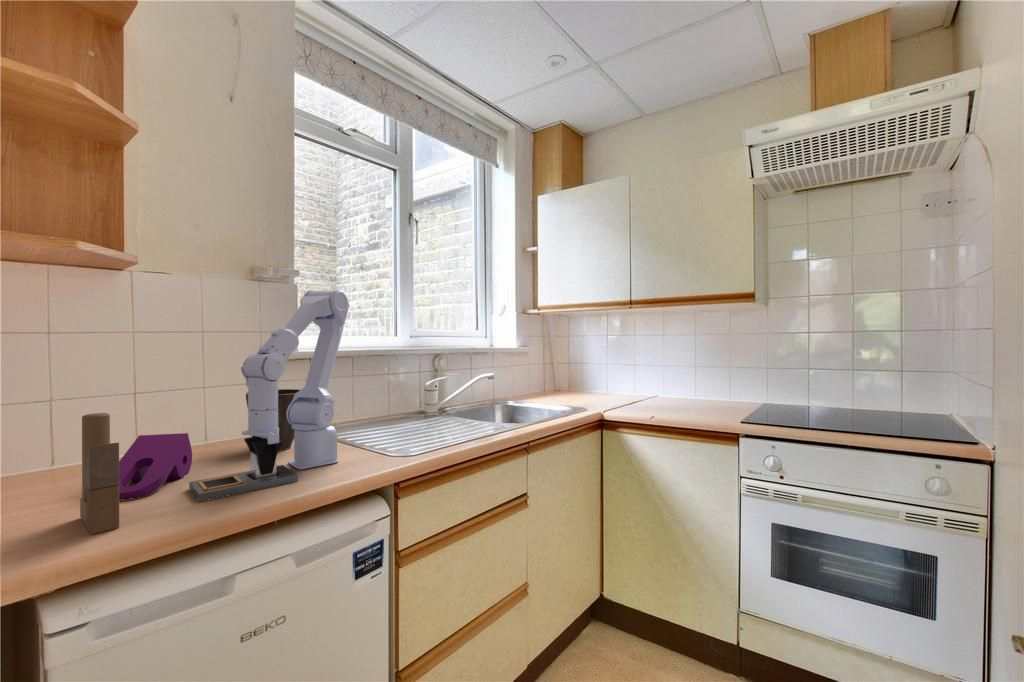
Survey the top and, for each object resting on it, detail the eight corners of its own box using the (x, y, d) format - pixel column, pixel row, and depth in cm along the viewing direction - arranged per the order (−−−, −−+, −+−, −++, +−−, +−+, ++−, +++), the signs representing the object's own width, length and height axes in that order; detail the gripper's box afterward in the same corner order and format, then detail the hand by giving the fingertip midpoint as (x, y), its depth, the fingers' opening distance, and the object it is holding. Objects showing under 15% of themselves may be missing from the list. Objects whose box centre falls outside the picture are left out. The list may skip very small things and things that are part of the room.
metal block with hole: (270, 477, 101) (270, 448, 101) (276, 481, 98) (276, 451, 98) (250, 481, 98) (250, 451, 98) (255, 485, 95) (255, 454, 95)
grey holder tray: (282, 471, 106) (282, 464, 106) (298, 481, 98) (298, 473, 98) (189, 489, 93) (189, 481, 93) (199, 502, 86) (199, 493, 86)
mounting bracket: (161, 522, 91) (194, 461, 107) (151, 490, 88) (188, 433, 103) (105, 527, 89) (147, 464, 104) (93, 494, 85) (139, 435, 101)
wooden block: (89, 535, 71) (89, 422, 71) (79, 518, 78) (79, 414, 78) (120, 528, 74) (120, 418, 74) (108, 512, 81) (107, 411, 81)
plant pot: (237, 448, 127) (237, 391, 127) (292, 439, 138) (292, 387, 138) (256, 458, 117) (256, 396, 117) (314, 447, 128) (314, 391, 128)
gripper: (233, 407, 100) (233, 468, 101) (252, 415, 90) (252, 483, 90) (268, 403, 105) (268, 462, 106) (289, 411, 95) (289, 475, 95)
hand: (263, 471), depth 98 cm, fingers closed on metal block with hole, 4 cm apart
